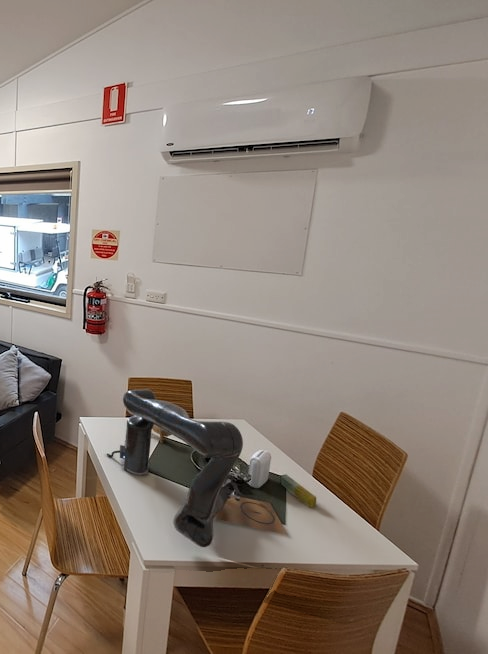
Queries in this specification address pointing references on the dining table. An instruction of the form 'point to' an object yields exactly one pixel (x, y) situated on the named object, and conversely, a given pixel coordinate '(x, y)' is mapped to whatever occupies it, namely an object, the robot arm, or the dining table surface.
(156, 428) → the lion figurine
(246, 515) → the face circle
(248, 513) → the sketch board
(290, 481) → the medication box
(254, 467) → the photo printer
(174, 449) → the dining table surface
